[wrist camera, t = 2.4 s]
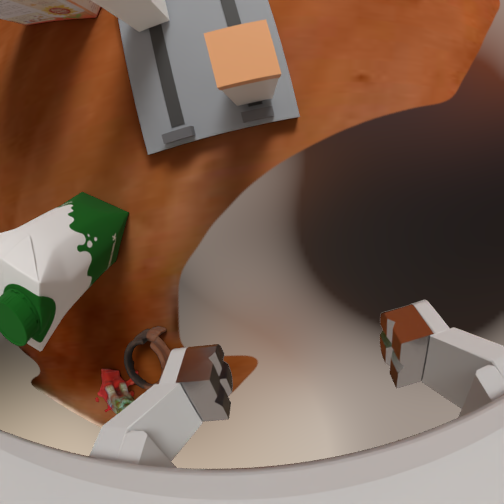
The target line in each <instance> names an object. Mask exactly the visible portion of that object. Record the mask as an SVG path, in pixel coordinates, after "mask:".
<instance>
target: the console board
mask: <svg viewBox="0 0 504 504" xmlns="http://www.w3.org/2000/svg"><path fill="white" fill-rule="evenodd" d="M165 2H166V6H167V11H168V15H169V20H170V21H167V22H164V23H161V24H158V25H156V26H153V27H151V28H148V29H145V30H143V31H140V32H138V31H137V30H135V29H134V28H132V27H131V26H130V25H128V24H127V23H125V22H124V21H122V20H121V19H119V18H118V20H119V26H120V32H121V38H122V43H123V49H124V54H125V59H126V64H127V69H128V73H129V78H130V83H131V87H132V92H133V96H134V101H135V105H136V109H137V113H138V117H139V121H140V125H141V129H142V133H143V137H144V141H145V145H146V149H147V152H148V155H150V154H153V153H157V152H160V151H163V150H166V149H169V148H172V147H176V146H179V145H182V144H186V143H189V142H193V141H196V140H200V139H203V138H207V137H211V136H215V135H218V134H222V133H226V132H230V131H234V130H239V129H243V128H247V127H252V126H256V125H261V124H266V123H270V122H275V121H281V120H286V119H291V118H297V117H300V116H299V111H298V107H297V103H296V99H295V94H294V90H293V86H292V82H291V79H290V75H289V71H288V67H287V63H286V60H285V56H284V52H283V49H282V45H281V42H280V38H279V35H278V31H277V28H276V25H275V21H274V18H273V15H272V12H271V8H270V5H269V2H268V0H165ZM265 19H266V21H267V24H268V27H269V31H270V34H271V38H272V41H273V45H274V48H275V52H276V55H277V59H278V63H279V67H280V70H281V76H280V78H279V79H278V82H277V85H276V88H275V92H274V95H273V98H272V99H267V100H263V101H258V102H253V103H249V104H244V105H240V106H236V104H235V103H234V102H233V101H232V100H231V99H230V98H229V97H228V96H227V95H226V94H225V93H224V92H223V91H222V90H219V89H218V88H217V85H216V81H215V77H214V73H213V69H212V65H211V61H210V57H209V53H208V49H207V45H206V41H205V37H204V33H207V32H211V31H214V30H218V29H222V28H226V27H231V26H235V25H239V24H244V23H249V22H254V21H260V20H265Z"/></svg>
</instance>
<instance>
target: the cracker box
mask: <svg viewBox="0 0 504 504" xmlns="http://www.w3.org/2000/svg"><path fill="white" fill-rule="evenodd" d="M100 8H101V6H99V5H97V4H96V3H94V2H92V1H91V0H0V19H4V20H8V21H12V22H16V23H19V24H23V25H31V24H38V23H44V22H51V21H59V20H69V19H81V18H96V17H97V15H98V12H99V10H100Z"/></svg>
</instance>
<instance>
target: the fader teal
mask: <svg viewBox="0 0 504 504" xmlns="http://www.w3.org/2000/svg"><path fill="white" fill-rule="evenodd" d="M91 1H92V2H94V3H96V4H97V5H99V6H101V7H102V8H104V9H105V10H107V11H108V12H110V13H112V14H113V15H115V16H116V17H118V18H119V19H121V20H122V21H124V22H125V23H127V24H128V25H130V26H131V27H132V28H134V29H135V30H137V31H138V32H140V31H143V30H145V29H148V28H151V27H153V26H156V25H158V24H161V23H164V22H167V21H170V20H169V15H168V11H167V6H166V2H165V0H91Z"/></svg>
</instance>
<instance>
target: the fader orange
mask: <svg viewBox="0 0 504 504" xmlns="http://www.w3.org/2000/svg"><path fill="white" fill-rule="evenodd" d="M204 37H205V41H206V45H207V49H208V53H209V57H210V61H211V65H212V69H213V73H214V77H215V81H216V85H217V88H218V89H219V90H222V91H223V92H224V93H225V94H226V95H227V96H228V97H229V98H230V99H231V100H232V101H233V102H234V103H235V104H236V106H240V105H244V104H249V103H253V102H258V101H263V100H267V99H272V98H273V95H274V92H275V88H276V85H277V82H278V79H279V78H280V76H281V70H280V67H279V63H278V59H277V55H276V52H275V48H274V45H273V41H272V38H271V34H270V31H269V27H268V24H267V21H266V19H265V20H260V21H254V22H249V23H244V24H239V25H235V26H231V27H226V28H222V29H218V30H214V31H211V32H207V33H204Z"/></svg>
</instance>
